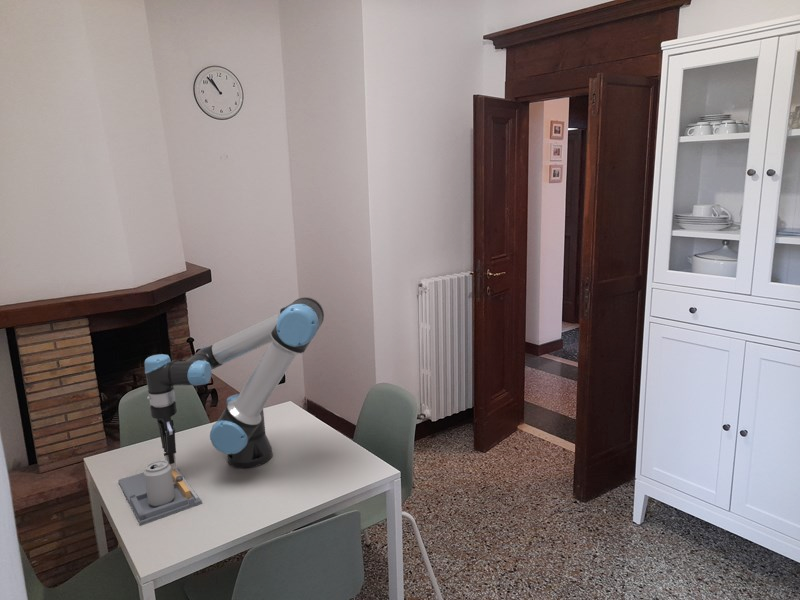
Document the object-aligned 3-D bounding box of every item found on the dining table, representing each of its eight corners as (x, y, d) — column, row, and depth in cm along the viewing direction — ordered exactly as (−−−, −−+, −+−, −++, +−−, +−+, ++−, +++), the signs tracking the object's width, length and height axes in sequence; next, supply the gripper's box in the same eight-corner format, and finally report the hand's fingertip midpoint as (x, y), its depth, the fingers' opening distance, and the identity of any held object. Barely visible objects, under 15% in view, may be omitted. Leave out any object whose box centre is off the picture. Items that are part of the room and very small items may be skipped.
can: (153, 495, 174) (148, 459, 172) (178, 493, 175) (173, 457, 172) (144, 509, 167) (139, 471, 164) (171, 507, 167) (166, 469, 165)
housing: (202, 503, 170) (201, 496, 170) (140, 525, 160) (139, 517, 160) (173, 465, 195) (172, 459, 194) (118, 482, 185) (117, 475, 184)
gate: (191, 497, 172) (190, 487, 171) (185, 499, 171) (183, 489, 170) (176, 475, 186) (174, 466, 185) (169, 477, 184) (168, 468, 184)
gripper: (145, 400, 184) (155, 467, 188) (155, 412, 173) (165, 483, 178) (169, 394, 188) (178, 460, 193) (180, 406, 177) (189, 475, 182)
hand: (172, 471), depth 185 cm, fingers closed
